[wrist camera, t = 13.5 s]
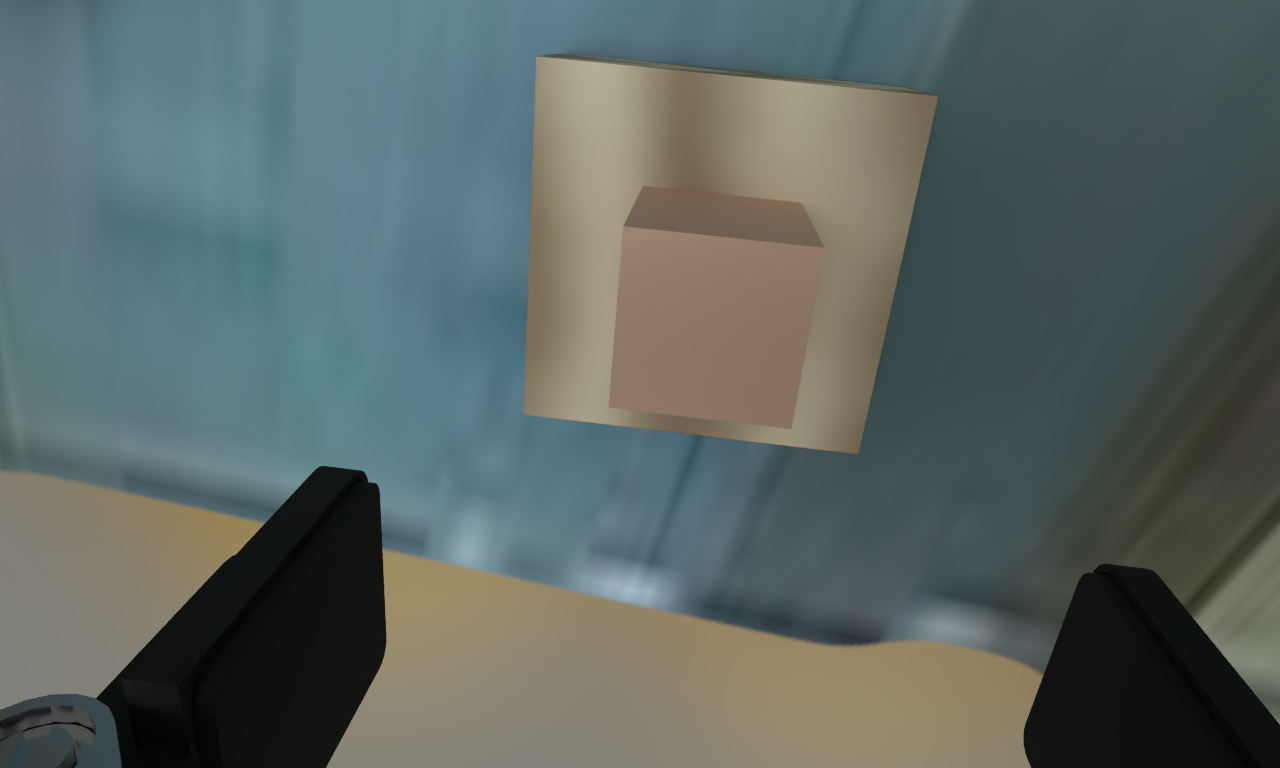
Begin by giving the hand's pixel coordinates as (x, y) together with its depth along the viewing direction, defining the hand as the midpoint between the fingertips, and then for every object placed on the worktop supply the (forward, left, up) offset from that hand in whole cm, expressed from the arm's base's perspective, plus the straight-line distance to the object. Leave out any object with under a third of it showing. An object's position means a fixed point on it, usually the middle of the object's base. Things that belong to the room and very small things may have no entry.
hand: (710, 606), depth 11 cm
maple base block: (0, 0, -22) cm, 22 cm away
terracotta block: (0, 0, -17) cm, 17 cm away
